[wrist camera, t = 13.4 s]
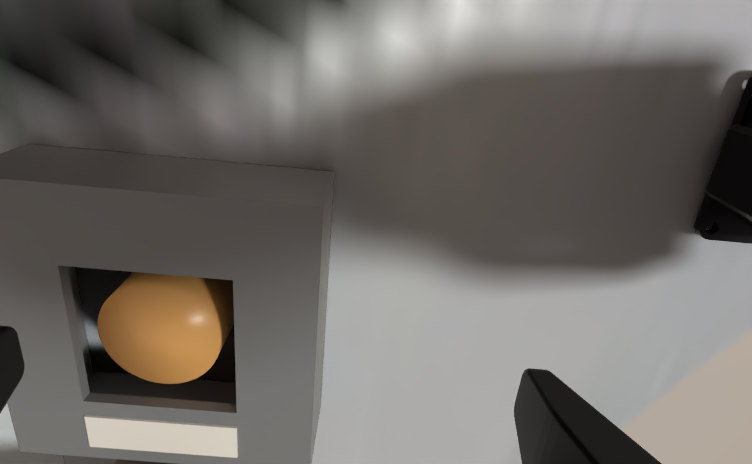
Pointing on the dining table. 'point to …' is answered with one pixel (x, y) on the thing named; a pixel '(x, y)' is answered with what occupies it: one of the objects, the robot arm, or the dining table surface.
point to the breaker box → (169, 257)
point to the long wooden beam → (137, 462)
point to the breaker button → (167, 325)
